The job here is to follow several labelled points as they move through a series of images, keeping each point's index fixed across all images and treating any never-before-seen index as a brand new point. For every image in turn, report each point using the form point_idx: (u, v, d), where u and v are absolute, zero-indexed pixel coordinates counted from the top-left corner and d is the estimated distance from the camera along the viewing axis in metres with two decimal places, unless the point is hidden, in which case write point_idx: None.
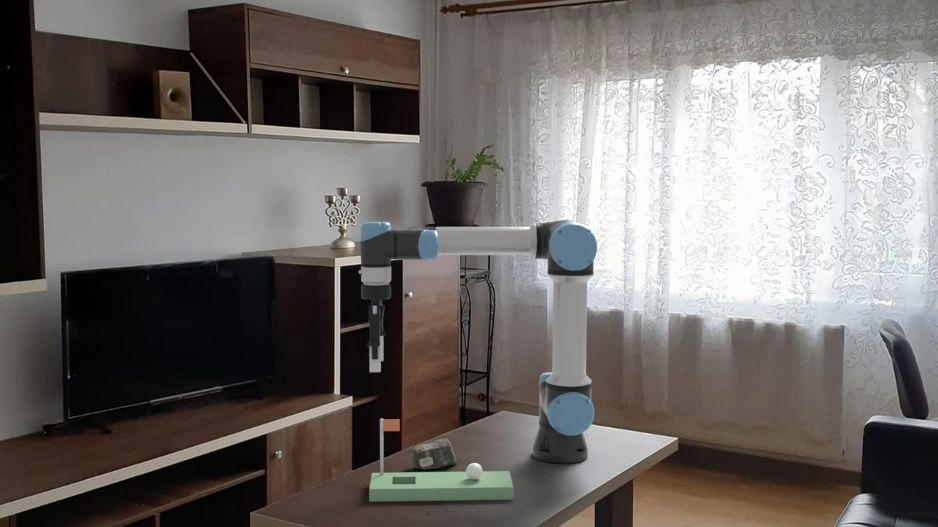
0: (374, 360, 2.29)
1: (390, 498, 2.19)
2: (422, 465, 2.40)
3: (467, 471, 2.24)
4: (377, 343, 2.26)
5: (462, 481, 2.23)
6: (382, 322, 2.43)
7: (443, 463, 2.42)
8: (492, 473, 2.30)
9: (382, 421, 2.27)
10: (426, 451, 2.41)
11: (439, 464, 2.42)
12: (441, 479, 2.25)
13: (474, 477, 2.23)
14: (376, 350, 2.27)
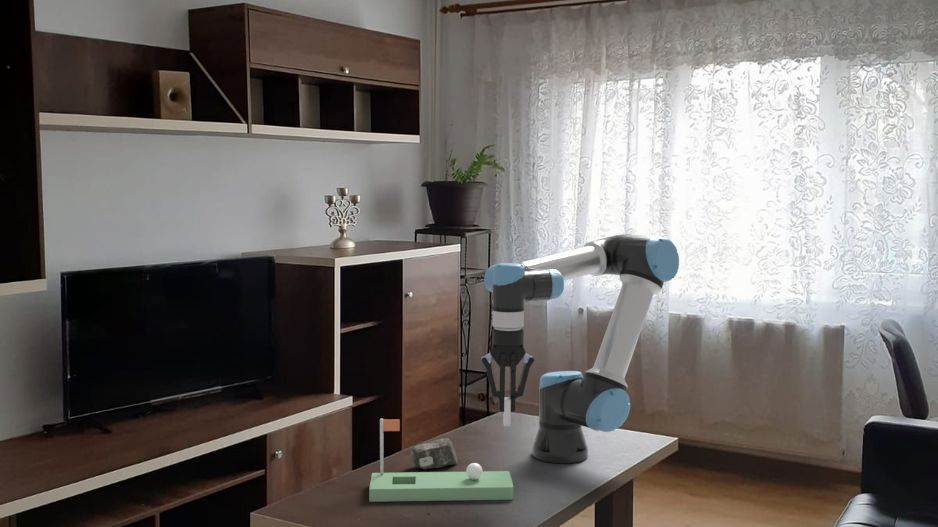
0: (503, 412, 2.24)
1: (390, 498, 2.19)
2: (422, 464, 2.41)
3: (467, 471, 2.24)
4: (492, 394, 2.23)
5: (462, 481, 2.23)
6: (520, 382, 2.22)
7: (443, 463, 2.43)
8: (492, 473, 2.30)
9: (382, 421, 2.27)
10: (427, 450, 2.42)
11: (439, 464, 2.42)
12: (441, 479, 2.25)
13: (474, 477, 2.23)
14: (499, 402, 2.23)
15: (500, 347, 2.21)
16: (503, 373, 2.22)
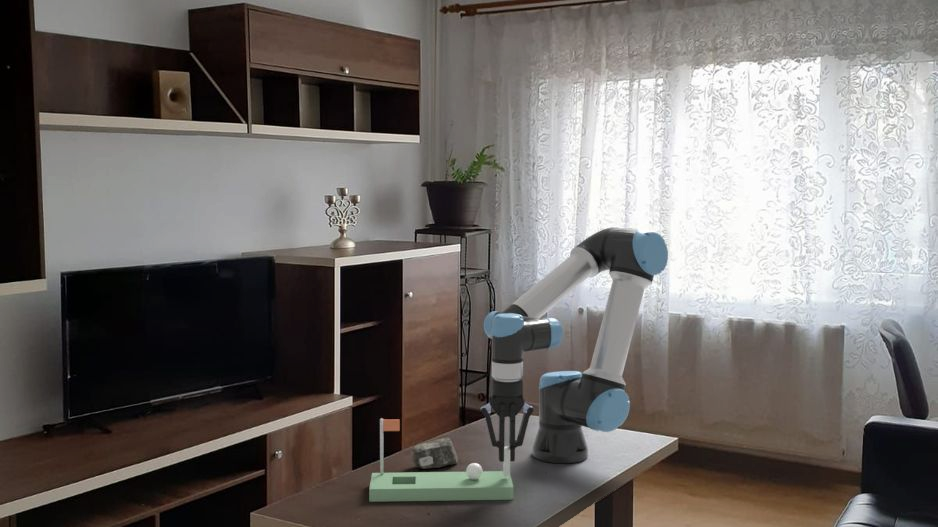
0: (503, 462, 2.25)
1: (390, 498, 2.19)
2: (422, 464, 2.41)
3: (467, 471, 2.24)
4: (492, 444, 2.24)
5: (462, 481, 2.23)
6: (520, 432, 2.23)
7: (443, 462, 2.43)
8: (492, 473, 2.30)
9: (382, 421, 2.27)
10: (427, 450, 2.42)
11: (439, 463, 2.42)
12: (441, 479, 2.25)
13: (474, 477, 2.23)
14: (499, 452, 2.24)
15: (499, 398, 2.23)
16: (503, 423, 2.23)
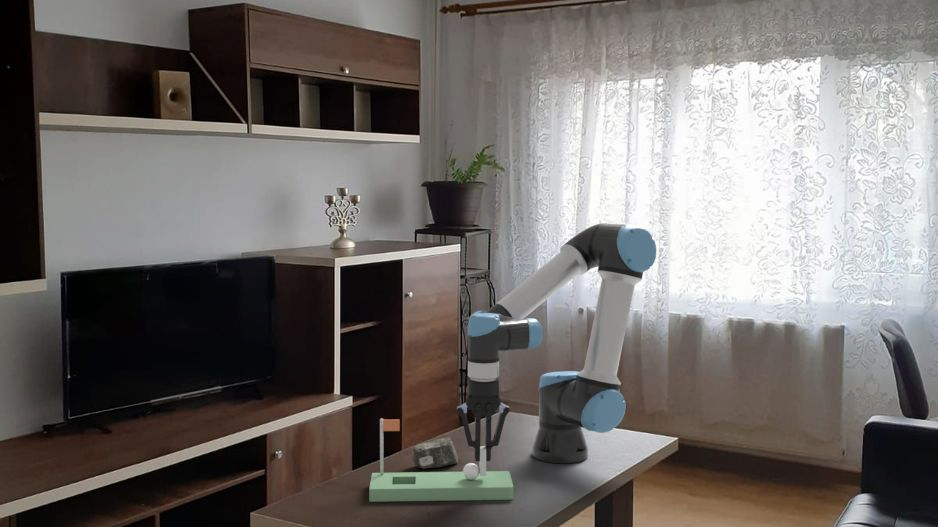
0: (479, 462, 2.25)
1: (390, 498, 2.19)
2: (422, 464, 2.41)
3: (464, 473, 2.24)
4: (468, 444, 2.23)
5: (462, 481, 2.23)
6: (496, 432, 2.23)
7: (443, 462, 2.43)
8: (492, 473, 2.30)
9: (382, 421, 2.27)
10: (427, 450, 2.42)
11: (439, 463, 2.42)
12: (441, 479, 2.25)
13: (472, 477, 2.23)
14: (475, 451, 2.24)
15: (475, 397, 2.22)
16: (479, 423, 2.23)
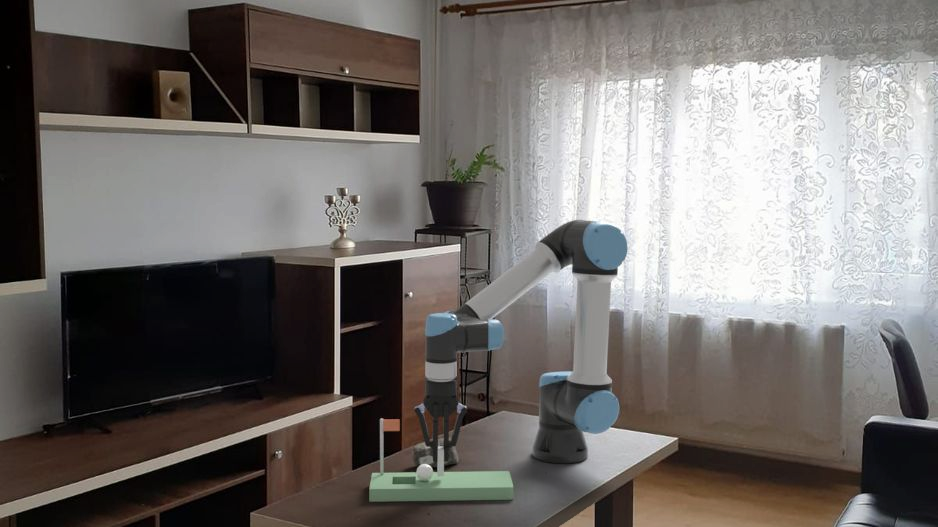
0: (437, 462, 2.24)
1: (390, 498, 2.19)
2: (422, 463, 2.42)
3: (418, 470, 2.23)
4: None
5: (462, 481, 2.23)
6: (453, 432, 2.23)
7: None
8: (492, 473, 2.30)
9: (382, 421, 2.27)
10: (427, 449, 2.43)
11: None
12: (441, 479, 2.25)
13: (423, 478, 2.23)
14: None
15: (433, 397, 2.22)
16: (436, 423, 2.22)
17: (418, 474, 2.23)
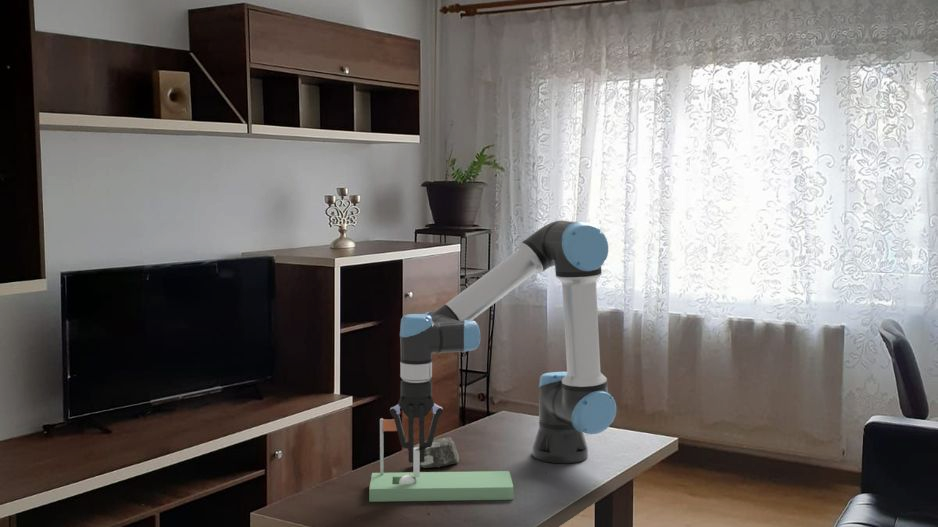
0: (413, 463, 2.24)
1: (390, 498, 2.19)
2: (422, 463, 2.42)
3: None
4: (401, 445, 2.23)
5: (462, 481, 2.23)
6: (429, 433, 2.22)
7: (444, 462, 2.43)
8: (492, 473, 2.30)
9: (382, 421, 2.27)
10: (427, 449, 2.43)
11: (439, 463, 2.43)
12: (441, 479, 2.25)
13: (410, 483, 2.22)
14: None
15: (408, 398, 2.21)
16: (411, 424, 2.22)
17: None
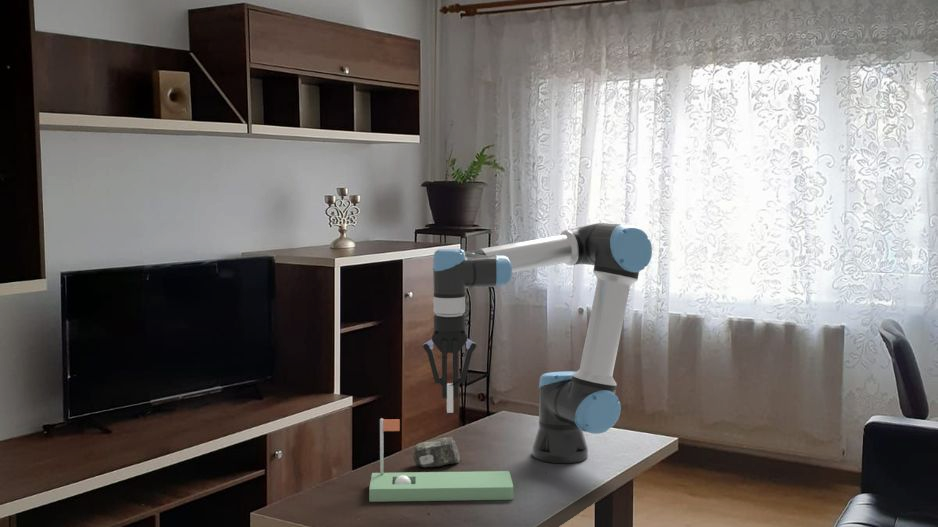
0: None
1: (390, 498, 2.19)
2: (422, 462, 2.42)
3: None
4: (434, 380, 2.22)
5: (462, 481, 2.23)
6: (463, 368, 2.21)
7: (444, 461, 2.44)
8: (492, 473, 2.30)
9: (382, 421, 2.27)
10: (427, 448, 2.43)
11: (440, 462, 2.43)
12: (441, 479, 2.25)
13: (404, 482, 2.22)
14: (442, 388, 2.22)
15: (441, 333, 2.20)
16: (445, 359, 2.21)
17: None
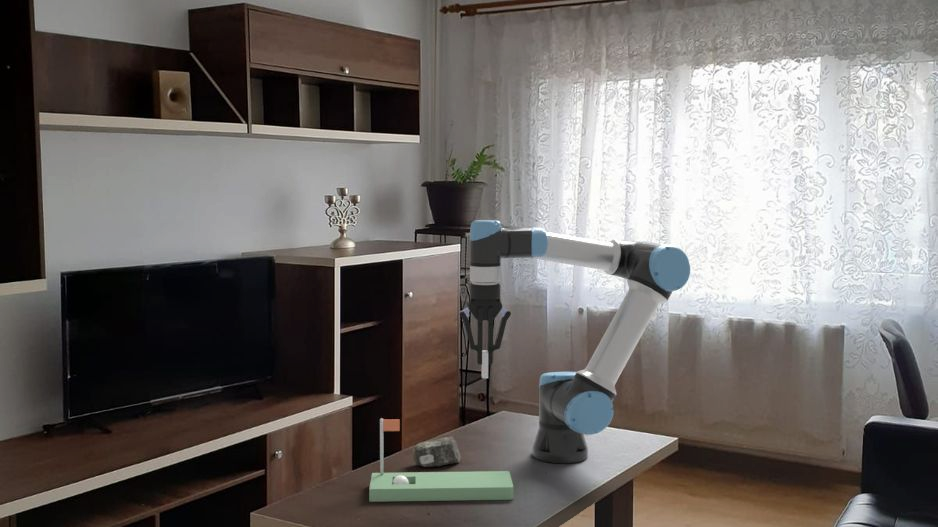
0: None
1: (390, 498, 2.19)
2: (422, 462, 2.43)
3: None
4: (470, 347, 2.29)
5: (462, 481, 2.23)
6: (497, 335, 2.29)
7: (444, 461, 2.44)
8: (492, 473, 2.30)
9: (382, 421, 2.27)
10: (428, 448, 2.44)
11: (440, 462, 2.44)
12: (441, 479, 2.25)
13: (401, 482, 2.22)
14: (477, 355, 2.30)
15: (477, 301, 2.28)
16: (481, 326, 2.29)
17: (406, 483, 2.23)
